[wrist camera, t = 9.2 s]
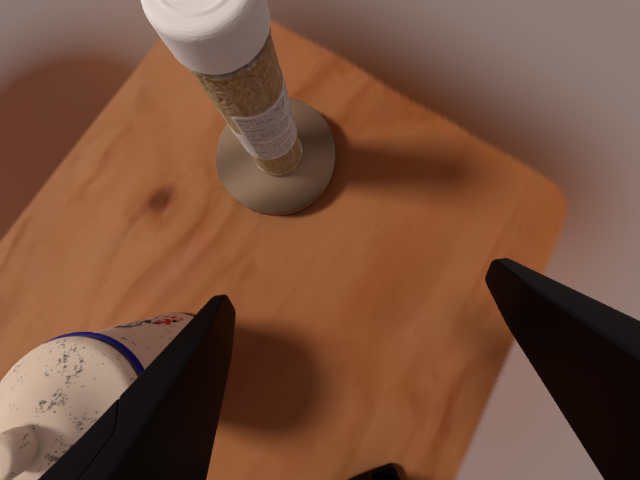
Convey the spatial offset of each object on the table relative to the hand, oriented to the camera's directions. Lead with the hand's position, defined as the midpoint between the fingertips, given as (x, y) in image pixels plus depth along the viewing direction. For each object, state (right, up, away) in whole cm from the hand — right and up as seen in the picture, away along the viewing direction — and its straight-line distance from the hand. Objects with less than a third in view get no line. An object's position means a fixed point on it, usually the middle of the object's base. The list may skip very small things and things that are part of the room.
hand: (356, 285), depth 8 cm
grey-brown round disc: (-5, +9, +15) cm, 19 cm away
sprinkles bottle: (-5, +9, +14) cm, 17 cm away
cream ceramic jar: (-16, -10, +14) cm, 23 cm away
